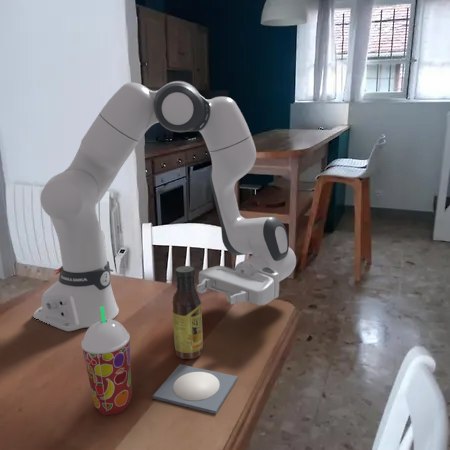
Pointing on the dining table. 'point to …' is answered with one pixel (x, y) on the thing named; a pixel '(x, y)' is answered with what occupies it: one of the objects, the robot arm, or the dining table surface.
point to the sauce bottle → (187, 315)
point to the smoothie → (108, 364)
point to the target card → (196, 388)
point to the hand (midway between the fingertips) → (213, 295)
